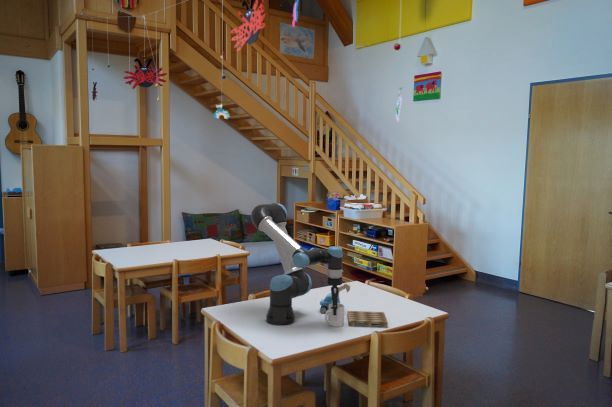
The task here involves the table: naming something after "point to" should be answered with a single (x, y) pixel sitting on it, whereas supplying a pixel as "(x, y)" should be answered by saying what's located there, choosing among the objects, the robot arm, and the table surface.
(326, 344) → the table surface
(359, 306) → the table surface
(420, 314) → the table surface
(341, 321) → the cup
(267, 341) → the table surface
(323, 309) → the toy excavator
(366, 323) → the wooden pallet
